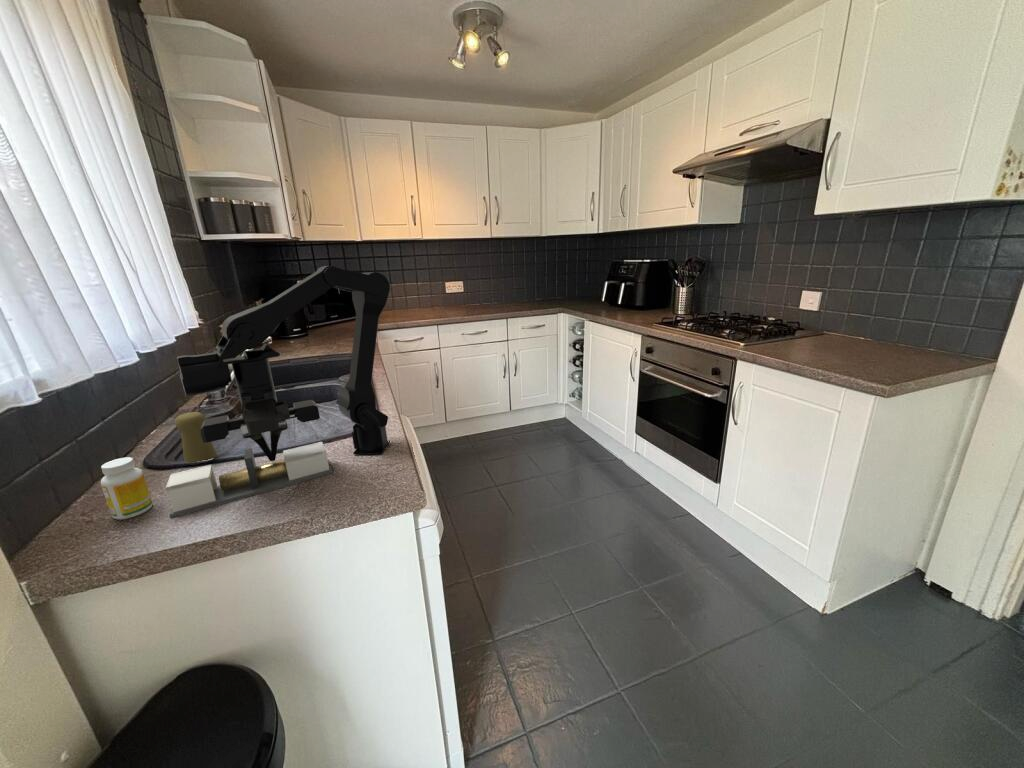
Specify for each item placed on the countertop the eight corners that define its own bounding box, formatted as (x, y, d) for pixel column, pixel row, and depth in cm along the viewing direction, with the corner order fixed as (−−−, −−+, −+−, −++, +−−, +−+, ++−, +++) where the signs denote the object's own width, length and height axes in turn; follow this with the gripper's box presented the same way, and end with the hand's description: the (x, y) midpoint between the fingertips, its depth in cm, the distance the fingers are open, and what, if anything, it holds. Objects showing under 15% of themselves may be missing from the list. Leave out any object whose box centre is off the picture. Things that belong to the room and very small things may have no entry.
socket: (217, 487, 77) (211, 464, 76) (215, 500, 72) (209, 477, 71) (178, 497, 74) (171, 473, 73) (173, 512, 69) (165, 487, 68)
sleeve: (325, 459, 86) (321, 441, 85) (329, 469, 82) (325, 450, 81) (287, 469, 83) (283, 450, 82) (289, 480, 78) (284, 460, 77)
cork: (204, 465, 88) (191, 418, 85) (177, 466, 88) (163, 419, 85) (223, 453, 93) (211, 408, 90) (197, 454, 93) (185, 409, 90)
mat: (327, 460, 87) (326, 457, 87) (332, 473, 82) (332, 470, 82) (176, 499, 74) (175, 496, 74) (170, 518, 69) (169, 514, 68)
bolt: (319, 460, 86) (314, 433, 84) (323, 469, 82) (317, 441, 80) (223, 485, 77) (215, 456, 75) (222, 496, 73) (213, 466, 71)
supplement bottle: (104, 521, 68) (85, 471, 66) (129, 504, 74) (113, 456, 71) (138, 518, 69) (120, 468, 66) (161, 501, 74) (145, 454, 71)
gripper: (186, 405, 63) (211, 493, 67) (316, 384, 72) (330, 462, 77) (194, 389, 72) (215, 467, 76) (308, 372, 81) (322, 442, 86)
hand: (272, 460), depth 78 cm, fingers closed
